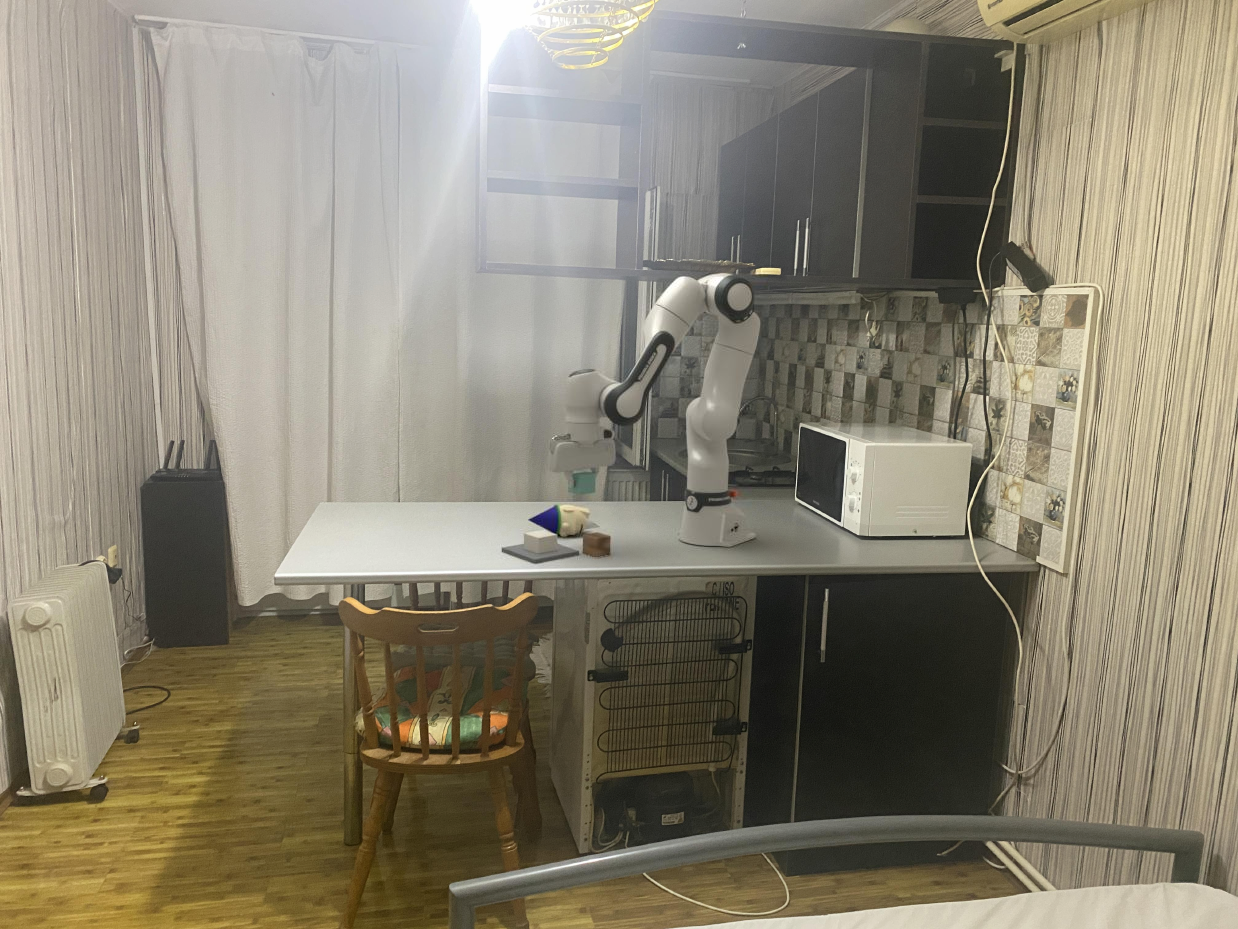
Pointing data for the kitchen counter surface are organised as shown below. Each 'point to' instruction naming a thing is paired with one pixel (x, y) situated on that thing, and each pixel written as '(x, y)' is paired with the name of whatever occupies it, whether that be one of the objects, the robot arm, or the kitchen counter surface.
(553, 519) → the cartoon head
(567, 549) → the build board
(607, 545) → the walnut block
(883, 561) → the kitchen counter surface
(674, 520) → the kitchen counter surface
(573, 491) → the teal block
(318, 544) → the kitchen counter surface
